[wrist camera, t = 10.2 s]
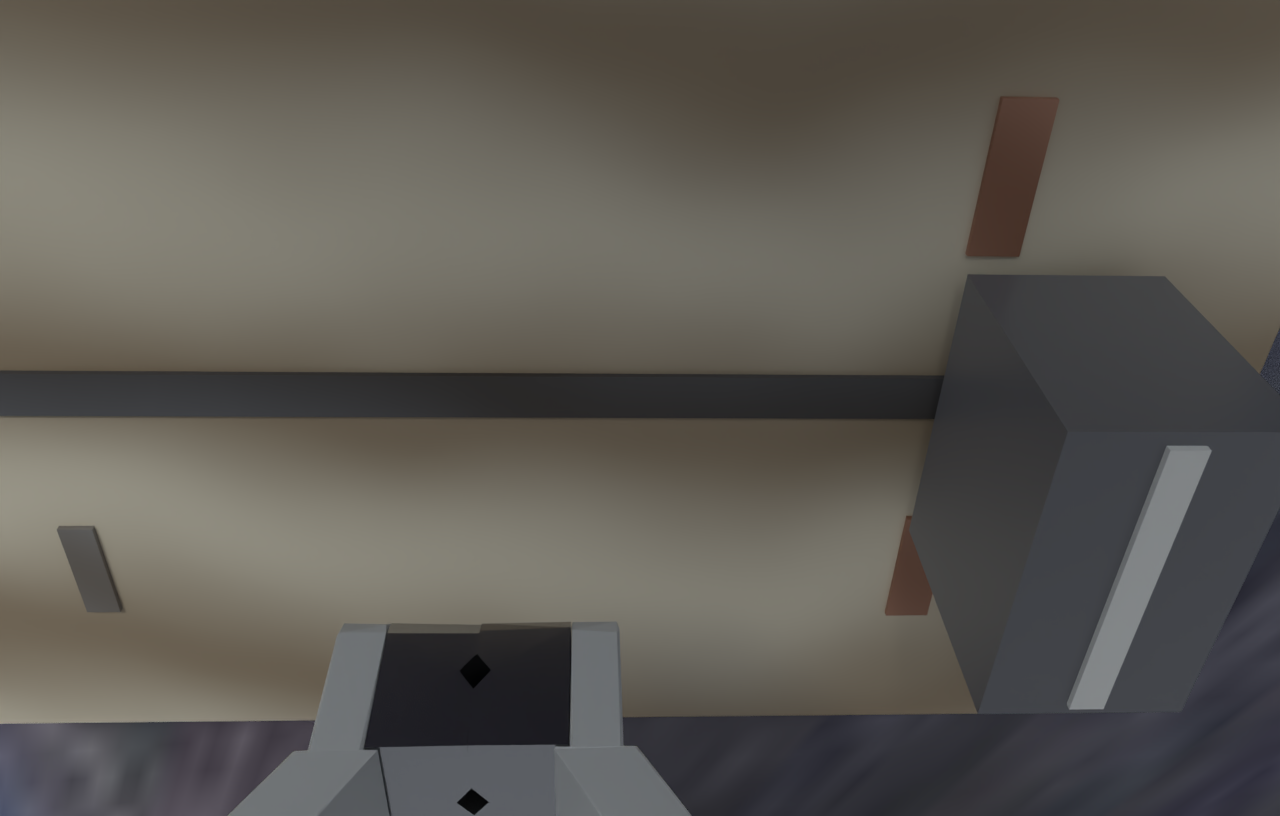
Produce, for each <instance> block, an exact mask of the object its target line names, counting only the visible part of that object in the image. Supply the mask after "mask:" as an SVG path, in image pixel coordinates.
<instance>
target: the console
mask: <svg viewBox="0 0 1280 816" xmlns="http://www.w3.org/2000/svg"><path fill="white" fill-rule="evenodd" d="M968 274H986V275H1087V276H1165V277H1166V278H1167V279H1168V280H1169V281H1170V282H1171V283H1172V284H1173V285H1174V286H1175V287H1176V288H1177V289H1178V290H1179V291H1180V292H1181V293H1182V294H1183V296H1184V297H1185V298H1186V299H1187V300H1188V301H1189V302H1190V303H1191V304H1192V305H1193V306H1194V307H1195V308H1196V309H1197V310H1198V311H1199V312H1200V313H1201V314H1202V315H1203V316H1204V317H1205V318H1206V319H1207V320H1208V321H1209V322H1210V323H1211V324H1212V325H1213V326H1214V327H1215V329H1216V330H1217V331H1218V332H1219V333H1220V334H1221V335H1222V336H1223V337H1224V338H1225V339H1226V340H1227V341H1228V342H1229V343H1230V344H1231V345H1232V346H1233V347H1234V348H1235V349H1236V350H1237V351H1238V352H1239V353H1240V354H1241V355H1242V356H1243V357H1244V358H1245V359H1246V361H1247V362H1248V363H1249V364H1250V365H1251V366H1252V367H1253V368H1254V369H1255V370H1256V371H1257V372H1258V373H1259V374H1260V372H1261V370H1262V368H1263V365H1264V363H1265V361H1266V358H1267V356H1268V354H1269V351H1270V349H1271V347H1272V344H1273V342H1274V340H1275V338H1276V335H1277V333H1278V331H1279V328H1280V0H0V724H3V723H102V722H200V721H299V720H316V716H317V712H318V708H319V704H320V700H321V696H322V692H323V688H324V684H325V680H326V676H327V672H328V669H329V665H330V661H331V657H332V653H333V649H334V645H335V641H336V637H337V635H338V633H339V631H340V629H341V628H342V626H343V624H344V623H355V624H391V623H404V624H466V625H482V624H484V623H534V622H571V653H572V623H573V622H617V623H618V626H619V631H620V659H621V687H622V715H623V717H694V716H793V715H891V714H978V713H977V711H976V708H975V705H974V703H973V700H972V697H971V695H970V692H969V689H968V687H967V684H966V681H965V679H964V676H963V673H962V671H961V668H960V665H959V663H958V660H957V657H956V655H955V652H954V649H953V647H952V644H951V641H950V639H949V636H948V633H947V631H946V628H945V625H944V623H943V620H942V617H941V615H940V612H939V609H938V607H937V604H936V601H935V598H934V596H933V593H932V590H931V588H930V585H929V582H928V580H927V577H926V574H925V572H924V569H923V566H922V564H921V561H920V558H919V556H918V553H917V550H916V548H915V545H914V542H913V540H912V537H911V534H910V532H909V528H910V524H911V519H912V515H913V511H914V506H915V502H916V497H917V493H918V489H919V484H920V480H921V476H922V471H923V467H924V463H925V458H926V454H927V449H928V445H929V441H930V436H931V432H932V428H933V423H934V419H935V415H936V410H937V406H938V401H939V397H940V393H941V388H942V384H943V380H944V375H945V371H946V367H947V362H948V358H949V353H950V349H951V345H952V340H953V336H954V332H955V327H956V323H957V319H958V314H959V310H960V305H961V301H962V297H963V292H964V288H965V284H966V279H967V275H968Z"/></svg>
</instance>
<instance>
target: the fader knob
mask: <svg viewBox="0 0 1280 816" xmlns="http://www.w3.org/2000/svg"><path fill="white" fill-rule="evenodd" d="M1279 508H1280V395H1279V394H1278V393H1277V391H1276V390H1275V389H1274V388H1273V387H1272V386H1271V385H1270V384H1269V383H1268V382H1267V381H1266V380H1265V379H1264V378H1263V377H1262V376H1261V375H1260V374H1259V373H1258V372H1257V371H1256V370H1255V369H1254V368H1253V367H1252V366H1251V365H1250V364H1249V363H1248V362H1247V361H1246V359H1245V358H1244V357H1243V356H1242V355H1241V354H1240V353H1239V352H1238V351H1237V350H1236V349H1235V348H1234V347H1233V346H1232V345H1231V344H1230V343H1229V342H1228V341H1227V340H1226V339H1225V338H1224V337H1223V336H1222V335H1221V334H1220V333H1219V332H1218V331H1217V330H1216V329H1215V327H1214V326H1213V325H1212V324H1211V323H1210V322H1209V321H1208V320H1207V319H1206V318H1205V317H1204V316H1203V315H1202V314H1201V313H1200V312H1199V311H1198V310H1197V309H1196V308H1195V307H1194V306H1193V305H1192V304H1191V303H1190V302H1189V301H1188V300H1187V299H1186V298H1185V297H1184V296H1183V294H1182V293H1181V292H1180V291H1179V290H1178V289H1177V288H1176V287H1175V286H1174V285H1173V284H1172V283H1171V282H1170V281H1169V280H1168V279H1167V278H1166V277H1165V276H1087V275H986V274H968V275H967V279H966V284H965V288H964V292H963V297H962V301H961V305H960V310H959V314H958V319H957V323H956V327H955V332H954V336H953V340H952V345H951V349H950V353H949V358H948V362H947V367H946V371H945V375H944V380H943V384H942V388H941V393H940V397H939V401H938V406H937V410H936V415H935V419H934V423H933V428H932V432H931V436H930V441H929V445H928V449H927V454H926V458H925V463H924V467H923V471H922V476H921V480H920V484H919V489H918V493H917V497H916V502H915V506H914V511H913V515H912V519H911V524H910V528H909V532H910V534H911V537H912V540H913V542H914V545H915V548H916V550H917V553H918V556H919V558H920V561H921V564H922V566H923V569H924V572H925V574H926V577H927V580H928V582H929V585H930V588H931V590H932V593H933V596H934V598H935V601H936V604H937V607H938V609H939V612H940V615H941V617H942V620H943V623H944V625H945V628H946V631H947V633H948V636H949V639H950V641H951V644H952V647H953V649H954V652H955V655H956V657H957V660H958V663H959V665H960V668H961V671H962V673H963V676H964V679H965V681H966V684H967V687H968V689H969V692H970V695H971V697H972V700H973V703H974V705H975V708H976V711H977V713H978V714H1039V713H1137V712H1181V711H1182V709H1183V707H1184V705H1185V703H1186V701H1187V699H1188V697H1189V695H1190V693H1191V690H1192V688H1193V686H1194V684H1195V682H1196V680H1197V678H1198V676H1199V674H1200V672H1201V670H1202V668H1203V666H1204V664H1205V661H1206V659H1207V657H1208V655H1209V653H1210V651H1211V649H1212V647H1213V645H1214V643H1215V641H1216V639H1217V637H1218V635H1219V632H1220V630H1221V628H1222V626H1223V624H1224V622H1225V620H1226V618H1227V616H1228V614H1229V612H1230V610H1231V608H1232V606H1233V603H1234V601H1235V599H1236V597H1237V595H1238V593H1239V591H1240V589H1241V587H1242V585H1243V583H1244V581H1245V579H1246V577H1247V575H1248V572H1249V570H1250V568H1251V566H1252V564H1253V562H1254V560H1255V558H1256V556H1257V554H1258V552H1259V550H1260V548H1261V546H1262V543H1263V541H1264V539H1265V537H1266V535H1267V533H1268V531H1269V529H1270V527H1271V525H1272V523H1273V521H1274V519H1275V517H1276V514H1277V512H1278V510H1279Z"/></svg>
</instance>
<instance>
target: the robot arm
mask: <svg viewBox="0 0 1280 816" xmlns="http://www.w3.org/2000/svg"><path fill="white" fill-rule="evenodd" d="M228 816H692V815H691V814H690V813H689V811H688V810H687V809H686V808H685V806H684V805H683V804H682V802H681V801H680V800H679V799H678V797H677V796H676V795H675V794H674V792H673V791H672V790H671V788H670V787H669V786H668V785H667V783H666V782H665V781H664V780H663V778H662V777H661V776H660V774H659V773H658V772H657V771H656V769H655V768H654V767H653V765H652V764H651V763H650V762H649V760H648V759H647V758H646V757H645V755H644V754H643V753H642V751H641V750H640V749H639V748H638V746H624V743H623V715H622V687H621V659H620V631H619V626H618V623H617V622H573V623H572V653H571V622H534V623H484V624H482V625H466V624H404V623H391V624H355V623H344V624H343V626H342V628H341V629H340V631H339V633H338V635H337V637H336V641H335V645H334V649H333V653H332V657H331V661H330V665H329V669H328V672H327V676H326V680H325V684H324V688H323V692H322V696H321V700H320V704H319V708H318V712H317V716H316V720H315V724H314V728H313V732H312V736H311V740H310V744H309V748H308V750H306V751H293V752H292V753H291V754H290V755H289V756H288V757H287V758H286V759H285V760H284V761H283V762H282V763H281V764H280V765H279V766H278V767H277V768H276V769H275V770H274V771H273V772H272V773H271V774H270V775H269V776H268V777H267V778H266V779H264V780H263V781H262V782H261V783H260V784H259V785H258V786H257V787H256V788H255V789H254V790H253V791H252V792H251V793H250V794H249V795H248V796H247V797H246V798H245V799H244V800H243V801H242V802H241V803H240V804H239V805H238V806H237V807H236V808H235V809H234V810H233V811H232V812H231V813H230V814H229V815H228Z"/></svg>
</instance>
